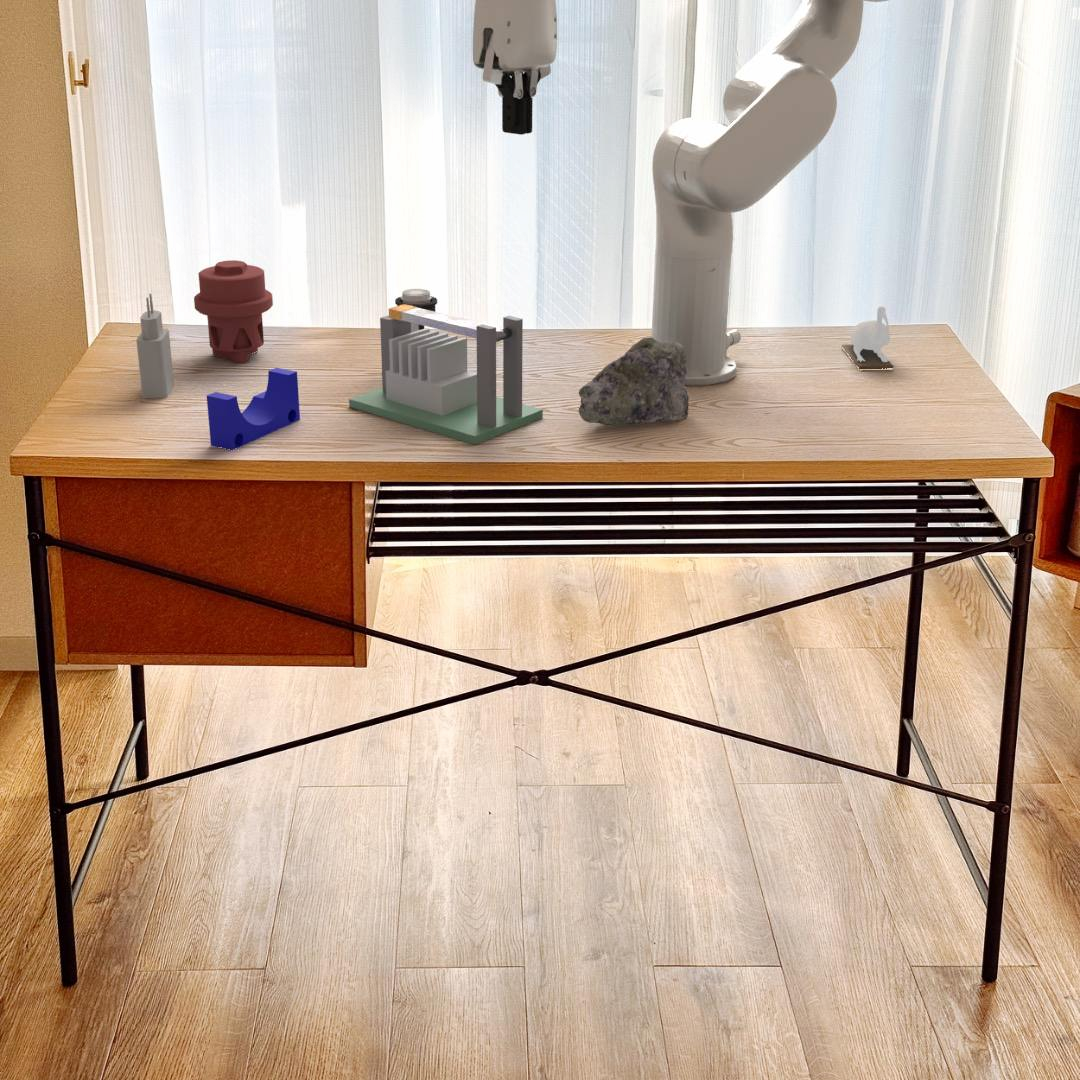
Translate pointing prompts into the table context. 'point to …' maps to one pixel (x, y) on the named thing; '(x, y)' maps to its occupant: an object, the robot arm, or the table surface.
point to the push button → (417, 303)
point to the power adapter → (154, 355)
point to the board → (449, 382)
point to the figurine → (870, 343)
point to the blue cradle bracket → (254, 411)
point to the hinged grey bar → (443, 321)
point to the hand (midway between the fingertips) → (517, 132)
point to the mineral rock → (638, 387)
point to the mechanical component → (233, 308)
